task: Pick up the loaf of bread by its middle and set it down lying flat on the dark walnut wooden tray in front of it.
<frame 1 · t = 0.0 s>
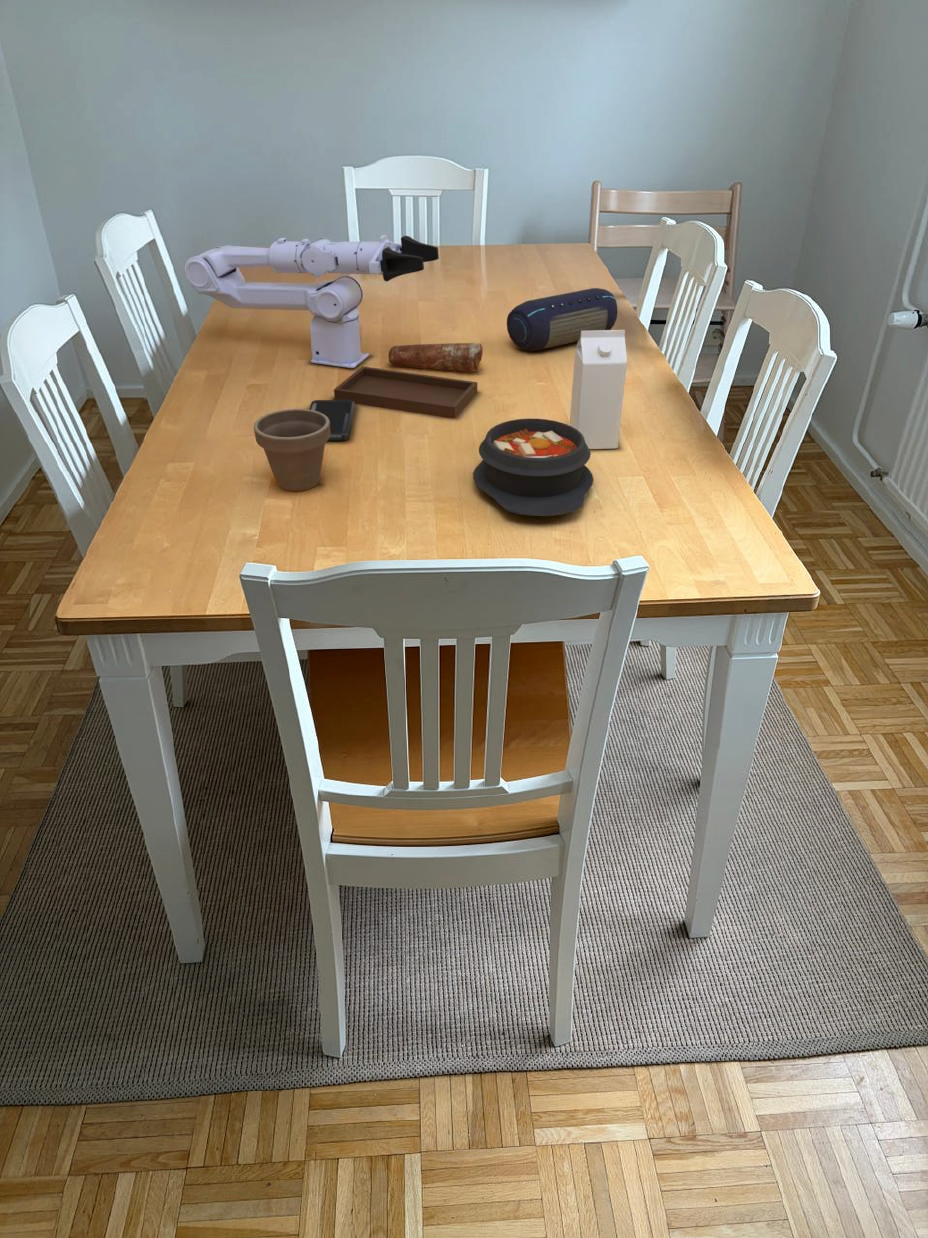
hand: (430, 258, 175), 22 cm above the table, tool horizontal, fingers open, 7 cm apart
portable speaker: (562, 343, 202), on the table
phone: (330, 423, 167), on the table
flower pot: (297, 483, 149), on the table
casserole: (532, 488, 148), on the table
milk carton: (592, 441, 162), on the table
bread: (435, 369, 189), on the table
tray: (406, 396, 177), on the table
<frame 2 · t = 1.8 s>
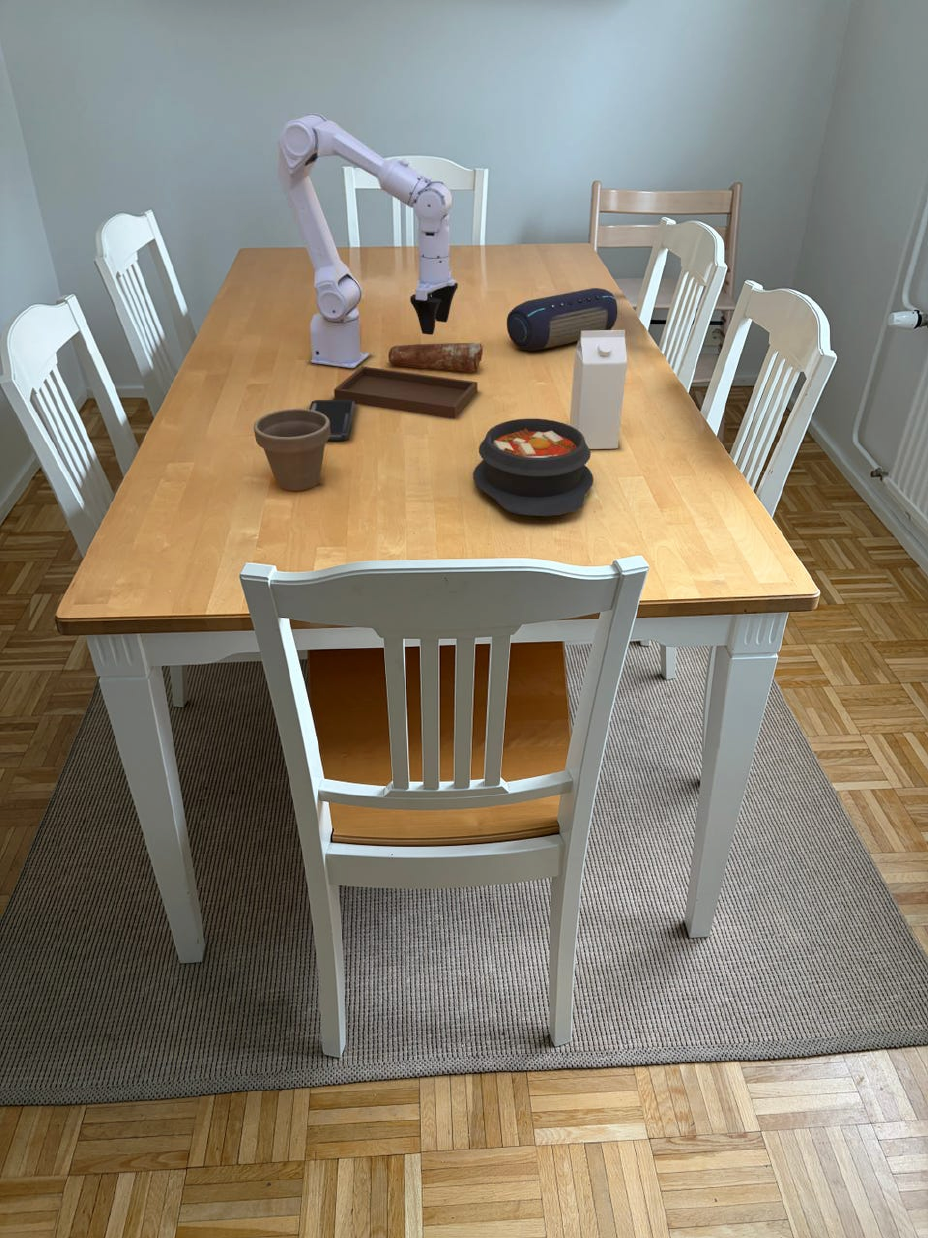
hand: (434, 327, 184), 8 cm above the table, tool pointing down, fingers open, 7 cm apart
nothing on the table moved.
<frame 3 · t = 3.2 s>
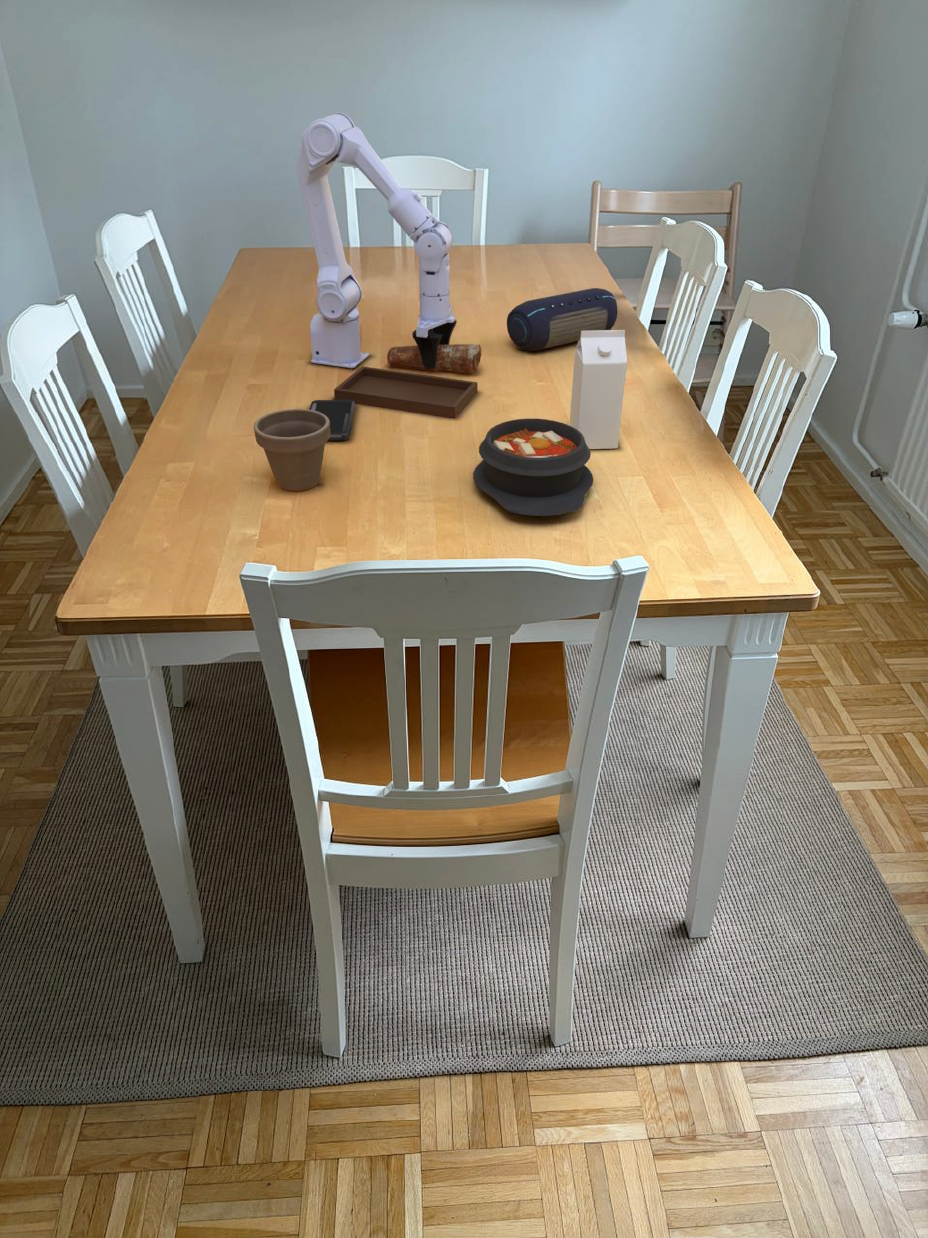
hand: (435, 362, 188), 1 cm above the table, tool pointing down, fingers closed on bread, 6 cm apart
bread: (433, 371, 188), on the table, touching gripper
everything else where it was.
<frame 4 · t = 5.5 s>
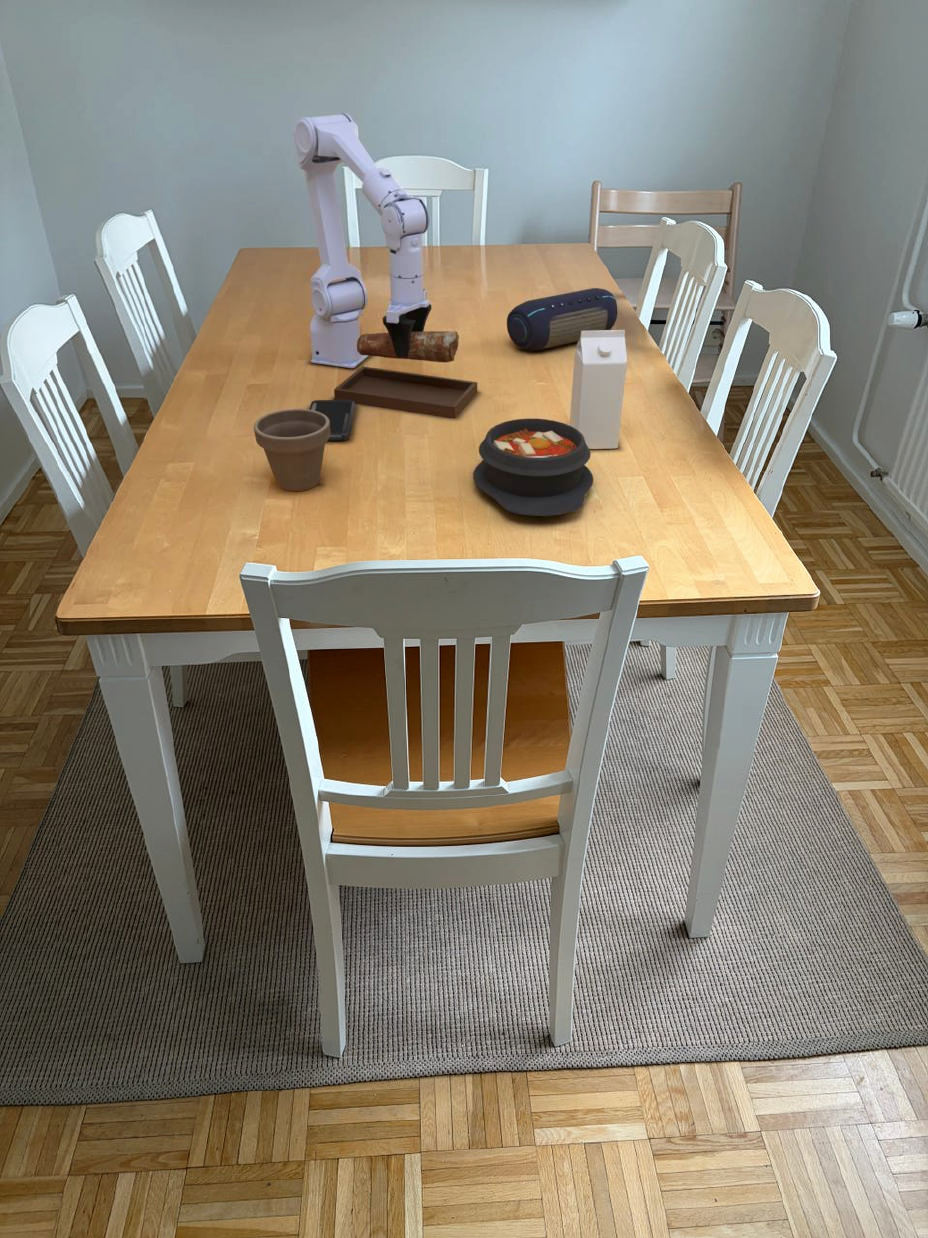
hand: (408, 350, 174), 8 cm above the table, tool pointing down, fingers closed on bread, 6 cm apart
bread: (407, 360, 174), point 7 cm above the table, touching gripper
everything else where it was.
when the fingers open (2 cm above the table, at t = 7.7 s): bread stays where it is, resting on tray.
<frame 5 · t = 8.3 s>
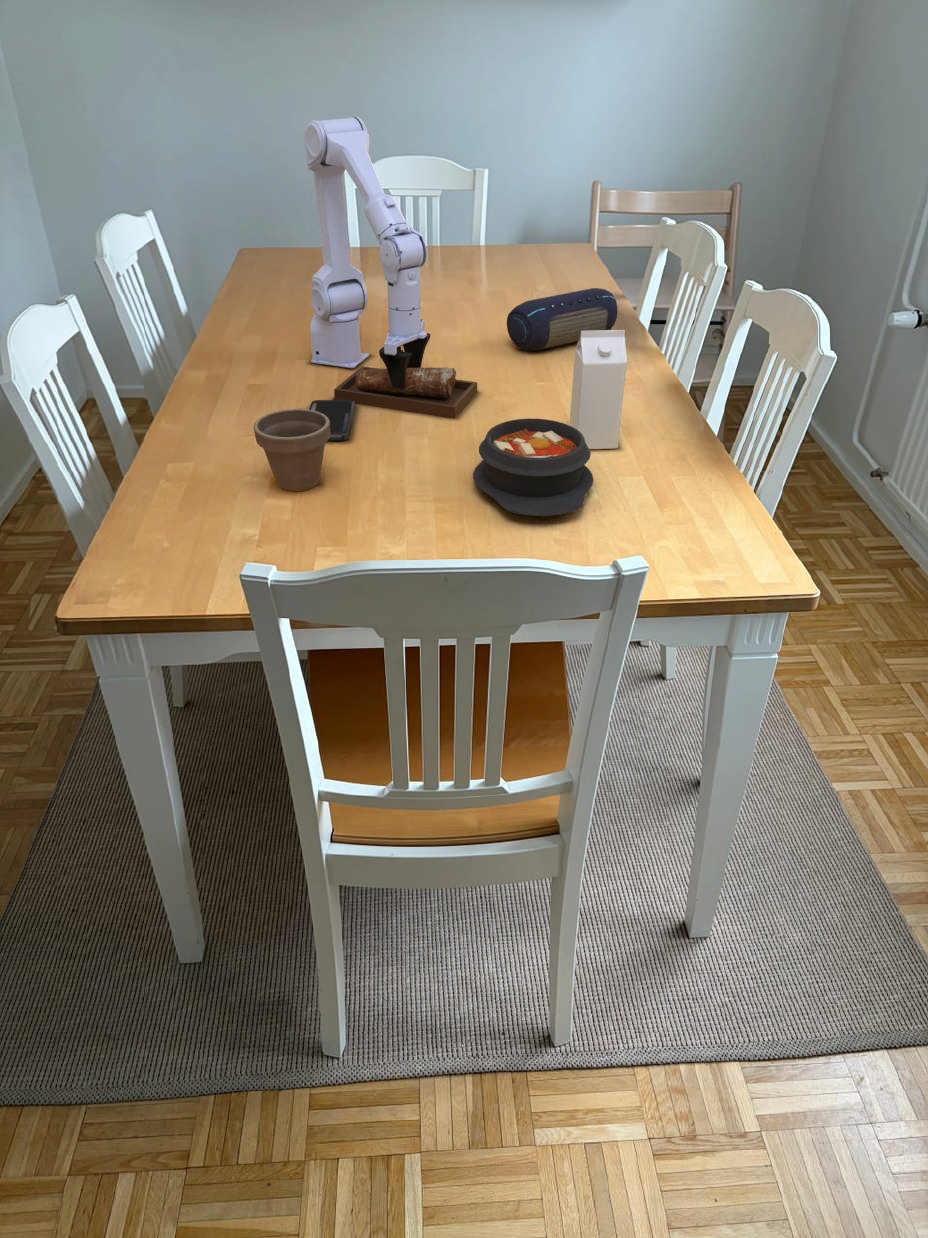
hand: (406, 380, 175), 3 cm above the table, tool pointing down, fingers open, 7 cm apart
bread: (405, 395, 177), resting on tray
everything else where it was.
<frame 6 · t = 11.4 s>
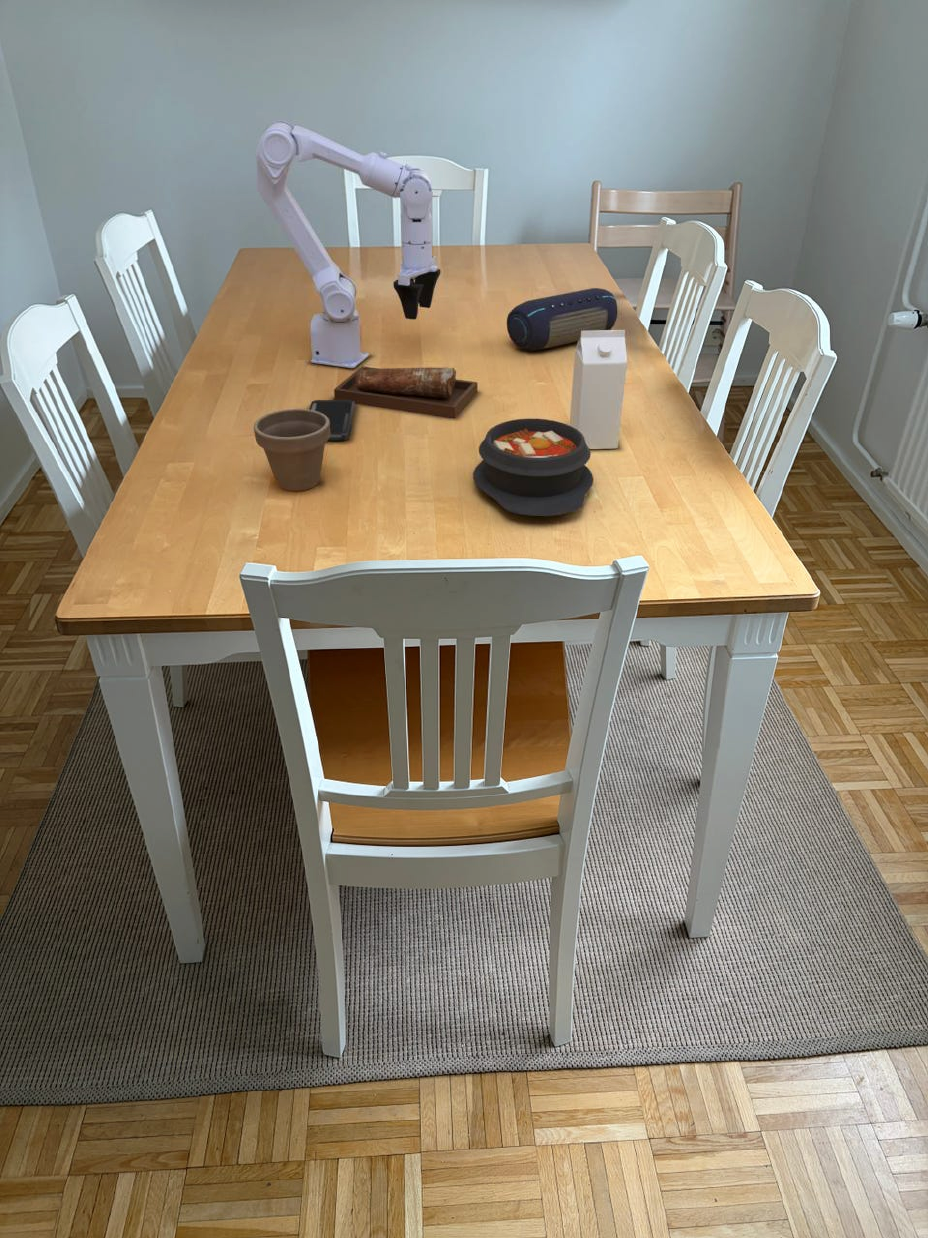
hand: (418, 312, 188), 9 cm above the table, tool pointing down, fingers open, 7 cm apart
nothing on the table moved.
at the end: bread inside the target area in the tray (0.7 cm from its centre), point 0.4 cm above the tray's base; bread tilted 0°; the gripper is holding nothing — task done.
